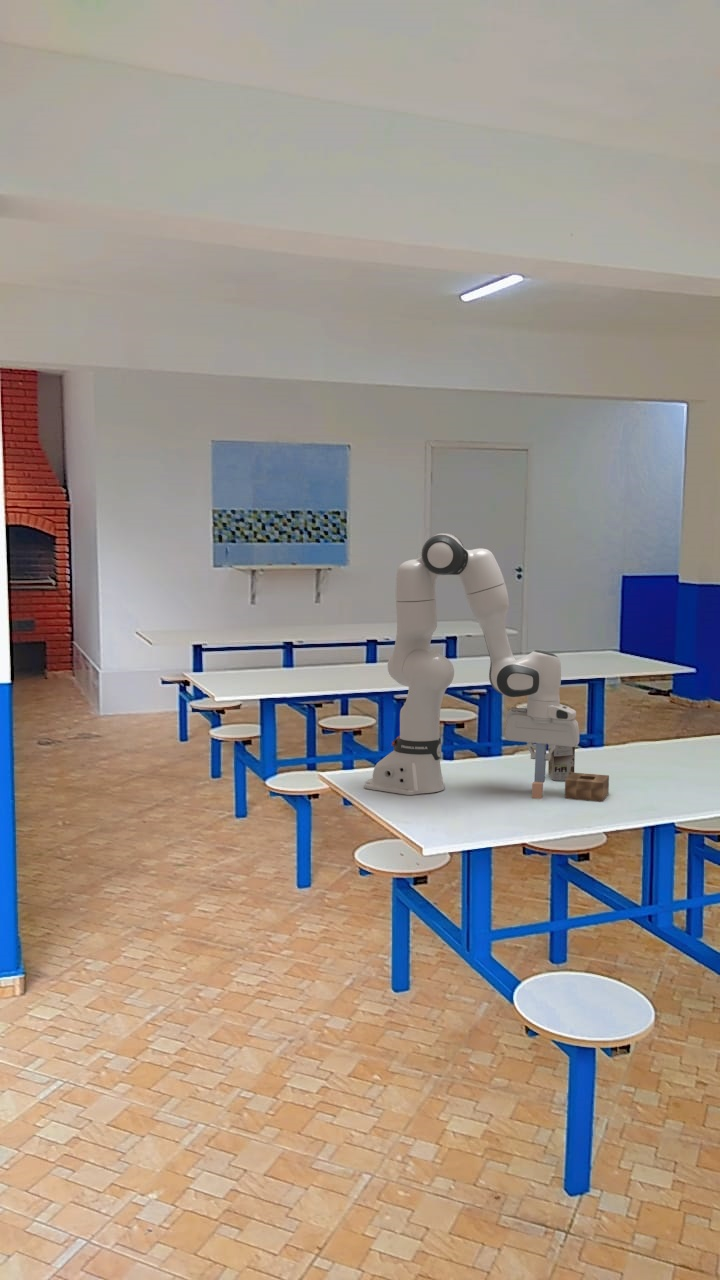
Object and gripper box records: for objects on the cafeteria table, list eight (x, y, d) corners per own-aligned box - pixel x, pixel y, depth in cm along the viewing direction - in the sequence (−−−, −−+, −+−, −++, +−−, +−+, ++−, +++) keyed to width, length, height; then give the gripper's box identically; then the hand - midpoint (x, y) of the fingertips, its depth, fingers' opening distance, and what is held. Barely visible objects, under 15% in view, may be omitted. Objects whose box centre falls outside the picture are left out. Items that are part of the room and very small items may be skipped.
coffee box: (575, 781, 291) (576, 726, 290) (552, 781, 291) (553, 725, 290) (569, 774, 300) (570, 720, 299) (547, 774, 300) (548, 720, 299)
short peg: (532, 798, 271) (532, 783, 270) (534, 796, 273) (534, 781, 272) (540, 798, 270) (541, 784, 269) (542, 797, 272) (543, 782, 272)
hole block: (564, 798, 270) (565, 779, 270) (571, 790, 280) (572, 772, 279) (602, 801, 267) (603, 783, 266) (608, 793, 276) (608, 775, 275)
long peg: (534, 781, 277) (536, 738, 276) (536, 780, 279) (538, 737, 278) (543, 782, 276) (544, 739, 275) (544, 781, 278) (546, 738, 277)
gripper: (503, 707, 277) (500, 757, 278) (577, 714, 269) (575, 765, 270) (508, 705, 283) (506, 754, 284) (582, 711, 275) (579, 761, 276)
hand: (540, 759), depth 277 cm, fingers closed on long peg, 2 cm apart
